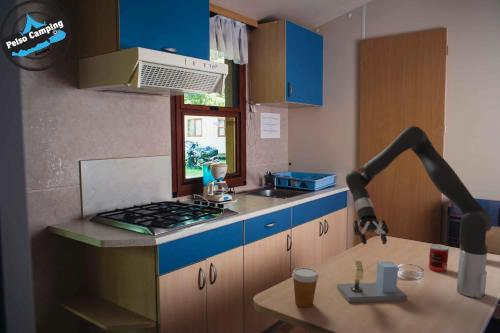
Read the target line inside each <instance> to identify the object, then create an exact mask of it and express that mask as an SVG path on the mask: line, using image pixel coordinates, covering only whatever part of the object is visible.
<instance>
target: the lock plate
mask: <svg viewBox="0 0 500 333" xmlns="http://www.w3.org/2000/svg"><path fill="white" fill-rule="evenodd" d="M354 283H355V282H353V283H337V285H336V289H337V291H339V293H340V294H341V295H342V296H343V298H344V299H345V300H346V302H348V303H367V302H368V303H369V302H371V303H372V302H393V301H394V302H397V301H399V302H400V301H402V302H404V301H407V300H408V295H407V294H406V293H405V292H404V291H403V290H401V289H400V288H399V287H398V286H397V287H396V292H381V291H380V290H379V289H378V288H377V287H376V282H364V283H363V282H361V283H360V282H359V289H355V288H354Z"/></svg>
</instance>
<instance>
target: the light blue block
mask: <svg viewBox="0 0 500 333" xmlns="http://www.w3.org/2000/svg"><path fill="white" fill-rule="evenodd" d="M376 263H377V264H376V278H375V283H376V287H377V288H378V289H379V290H380V291H381V292H396V287H398V286H397V284H398V271H399V266H397V265H396V264H395V263H394V262H393V261H377V262H376Z"/></svg>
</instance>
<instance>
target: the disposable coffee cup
mask: <svg viewBox="0 0 500 333" xmlns="http://www.w3.org/2000/svg"><path fill="white" fill-rule="evenodd" d="M291 275H292V278H293V280H292V281H293V289H294V290H293V291H294V300H295V301H294V302H295V305H296V306H298V307H301V308H311V307H312V306H313V305H314V301H315V294H316V290H317V289H316V288H317V282H318V279H319V277H320V276H319V275H318V271H317V270H315V269H313V268H310V267H297V268H294V270H293V272H292V274H291Z"/></svg>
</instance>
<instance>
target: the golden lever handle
mask: <svg viewBox="0 0 500 333" xmlns="http://www.w3.org/2000/svg"><path fill="white" fill-rule="evenodd" d="M360 280H361V281H363V280H364V268H363V264H362V260H354V282H353V283H354V288H355V289H359V283H360Z"/></svg>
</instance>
